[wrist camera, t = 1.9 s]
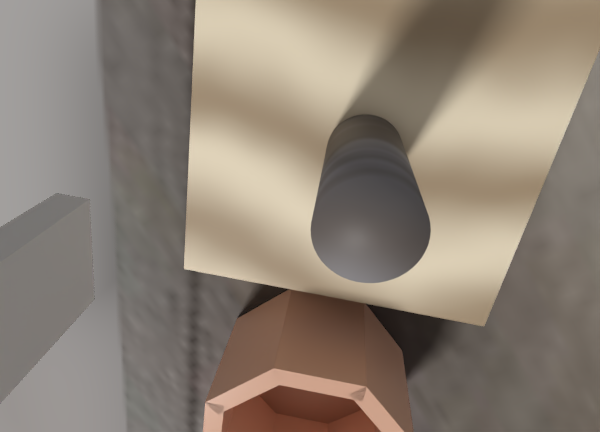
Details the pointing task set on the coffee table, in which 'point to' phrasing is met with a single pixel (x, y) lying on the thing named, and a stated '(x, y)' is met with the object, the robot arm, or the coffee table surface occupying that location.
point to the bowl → (309, 371)
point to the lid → (378, 142)
